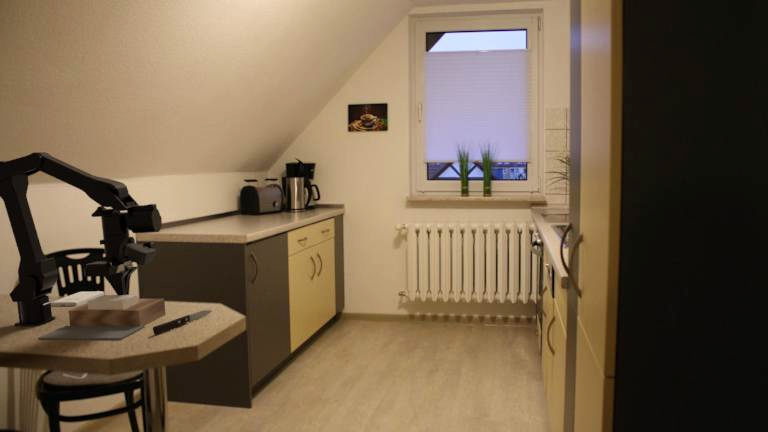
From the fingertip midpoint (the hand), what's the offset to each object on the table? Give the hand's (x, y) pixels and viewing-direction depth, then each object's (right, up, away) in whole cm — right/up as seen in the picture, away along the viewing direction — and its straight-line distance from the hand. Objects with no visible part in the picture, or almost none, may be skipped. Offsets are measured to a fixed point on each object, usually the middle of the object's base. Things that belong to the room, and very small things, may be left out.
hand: (122, 298), depth 150 cm
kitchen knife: (+17, -5, -7) cm, 20 cm away
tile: (-1, -1, -4) cm, 4 cm away
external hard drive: (-22, -4, +24) cm, 33 cm away
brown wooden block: (0, -5, -2) cm, 5 cm away
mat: (-2, -6, -11) cm, 13 cm away
